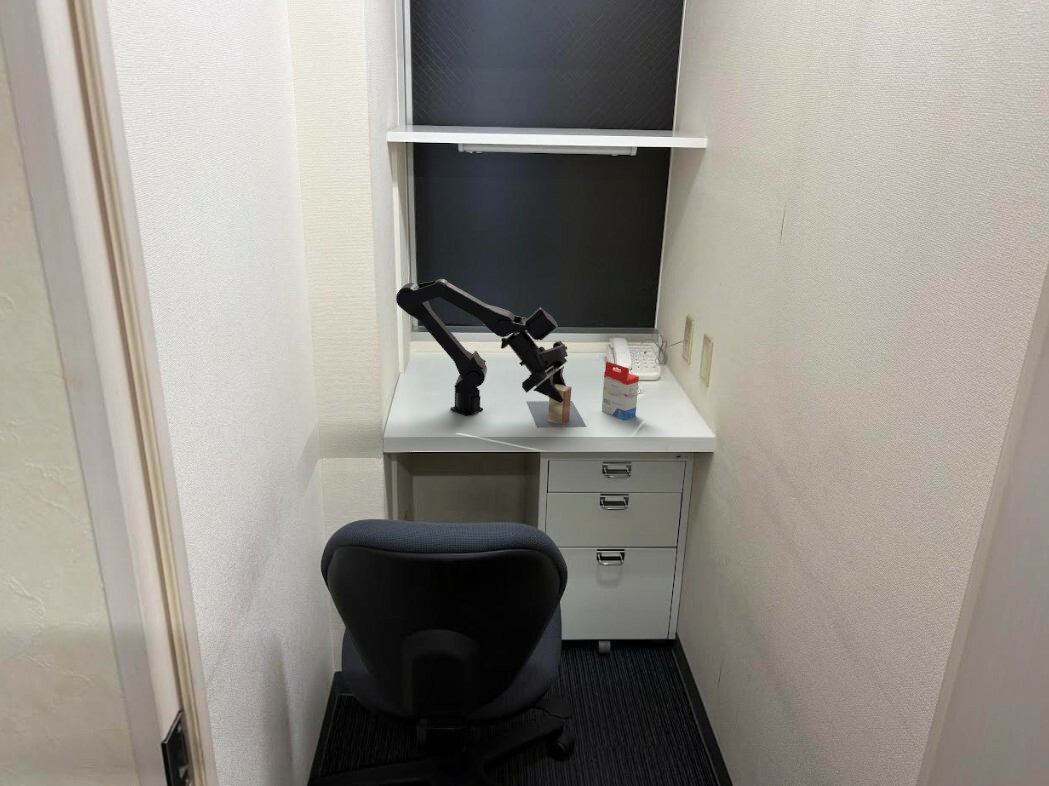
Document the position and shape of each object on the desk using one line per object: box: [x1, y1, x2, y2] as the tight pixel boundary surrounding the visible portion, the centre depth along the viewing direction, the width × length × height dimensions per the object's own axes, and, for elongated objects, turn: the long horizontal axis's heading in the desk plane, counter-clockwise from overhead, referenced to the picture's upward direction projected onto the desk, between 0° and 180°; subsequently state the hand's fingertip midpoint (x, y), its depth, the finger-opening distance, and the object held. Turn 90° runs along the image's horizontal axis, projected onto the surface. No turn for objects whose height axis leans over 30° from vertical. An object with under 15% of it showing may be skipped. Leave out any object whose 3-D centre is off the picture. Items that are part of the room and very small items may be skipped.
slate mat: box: [526, 400, 587, 429], centre depth 212 cm, size 19×13×1 cm
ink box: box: [601, 361, 640, 421], centre depth 212 cm, size 8×5×15 cm, turn 43°
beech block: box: [548, 384, 572, 424], centre depth 206 cm, size 4×4×9 cm
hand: (565, 398), depth 205 cm, fingers closed on beech block, 4 cm apart
